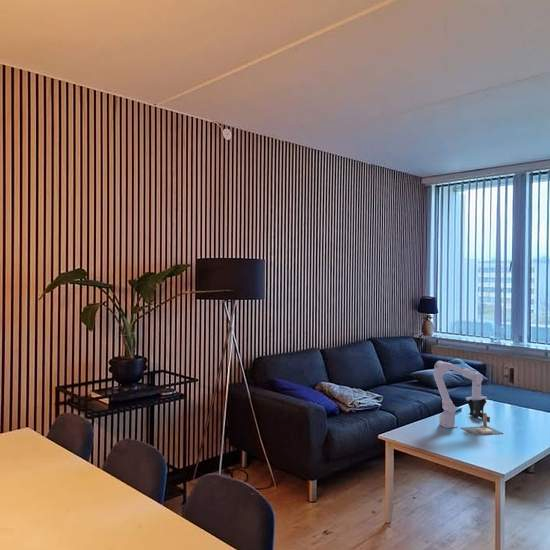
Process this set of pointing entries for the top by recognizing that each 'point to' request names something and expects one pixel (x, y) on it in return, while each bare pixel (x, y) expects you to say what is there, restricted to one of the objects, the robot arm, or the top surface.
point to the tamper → (484, 421)
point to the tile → (484, 430)
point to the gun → (477, 410)
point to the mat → (477, 433)
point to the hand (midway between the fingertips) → (476, 410)
